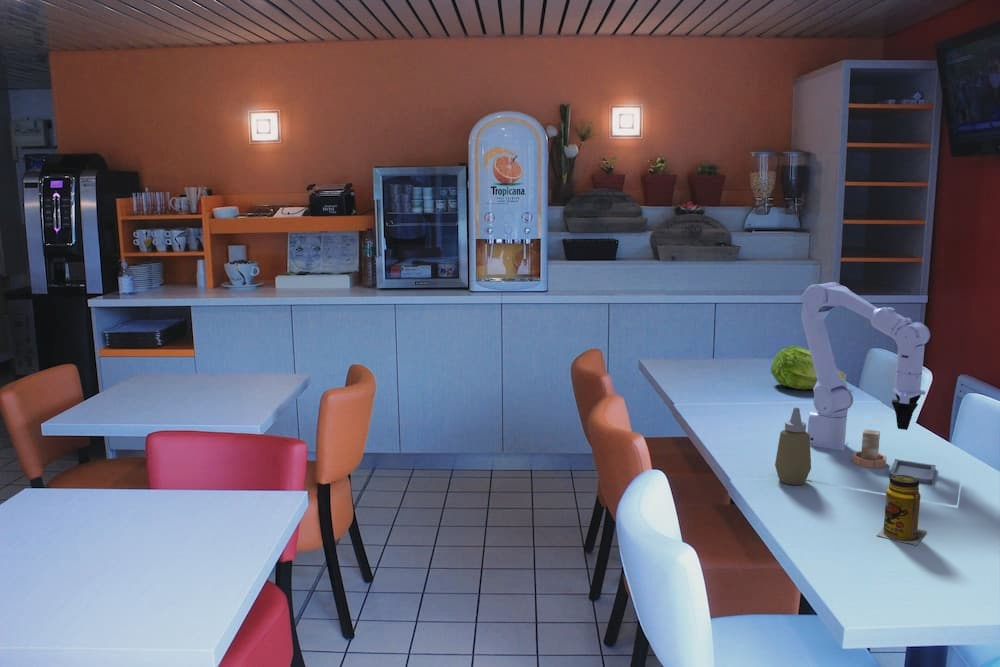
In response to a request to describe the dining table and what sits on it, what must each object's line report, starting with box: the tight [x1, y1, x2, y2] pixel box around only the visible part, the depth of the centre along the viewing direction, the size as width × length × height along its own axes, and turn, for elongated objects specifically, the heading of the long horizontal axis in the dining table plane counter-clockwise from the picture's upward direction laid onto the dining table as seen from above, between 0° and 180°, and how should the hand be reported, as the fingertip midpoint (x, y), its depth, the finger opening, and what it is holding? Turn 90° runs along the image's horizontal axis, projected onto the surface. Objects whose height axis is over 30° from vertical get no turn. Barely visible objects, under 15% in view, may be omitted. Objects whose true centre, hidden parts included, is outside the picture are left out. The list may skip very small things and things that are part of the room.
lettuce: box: [770, 345, 847, 390], centre depth 276 cm, size 15×24×16 cm
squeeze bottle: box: [774, 407, 812, 486], centre depth 187 cm, size 8×8×18 cm
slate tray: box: [888, 458, 937, 486], centre depth 192 cm, size 9×12×2 cm
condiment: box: [876, 475, 928, 546], centre depth 158 cm, size 7×8×12 cm
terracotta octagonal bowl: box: [851, 450, 887, 469], centre depth 200 cm, size 8×8×2 cm
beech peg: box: [861, 428, 881, 460], centre depth 199 cm, size 4×4×8 cm
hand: (904, 425), depth 198 cm, fingers open, 7 cm apart
